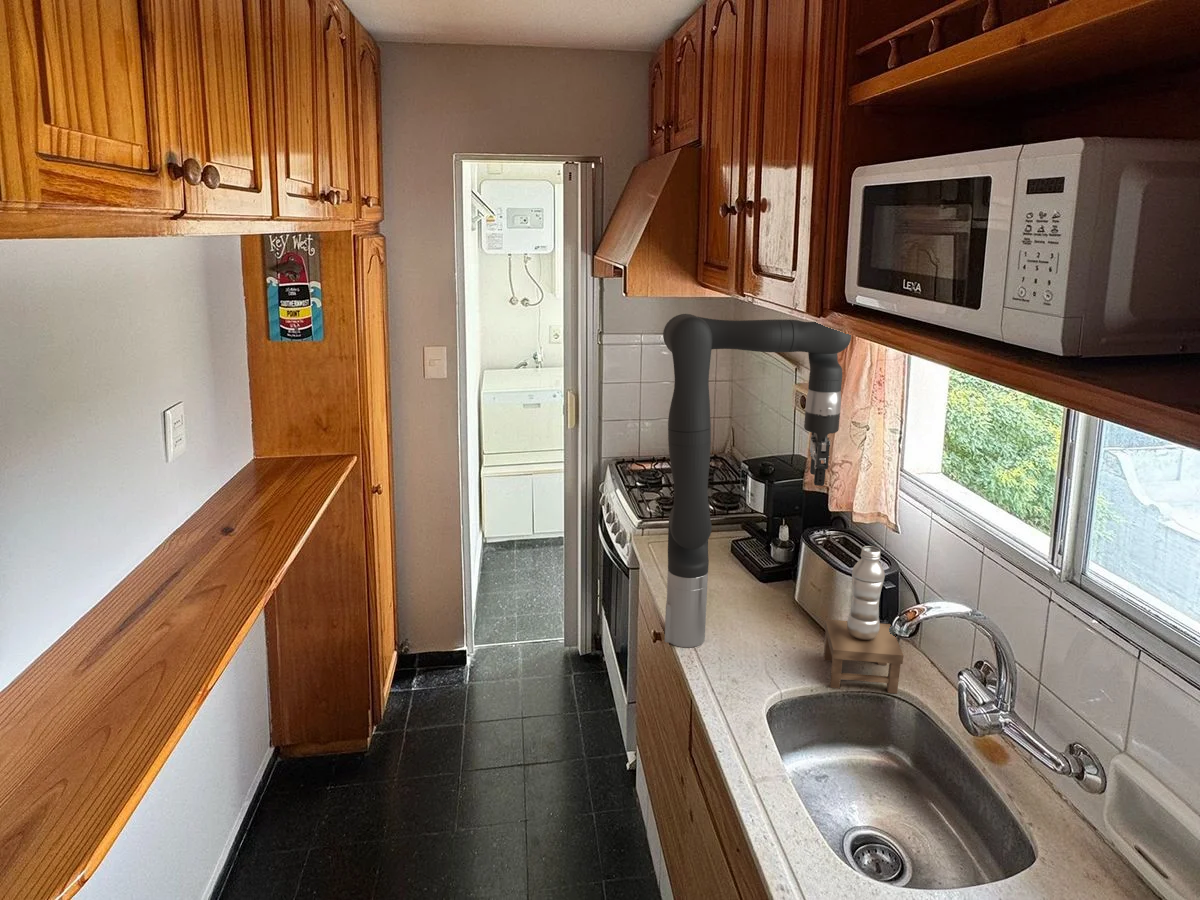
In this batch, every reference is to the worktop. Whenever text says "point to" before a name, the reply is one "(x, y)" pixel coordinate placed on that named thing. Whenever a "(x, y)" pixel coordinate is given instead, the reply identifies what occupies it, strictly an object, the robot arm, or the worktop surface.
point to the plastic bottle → (866, 595)
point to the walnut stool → (862, 654)
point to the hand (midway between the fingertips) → (816, 479)
